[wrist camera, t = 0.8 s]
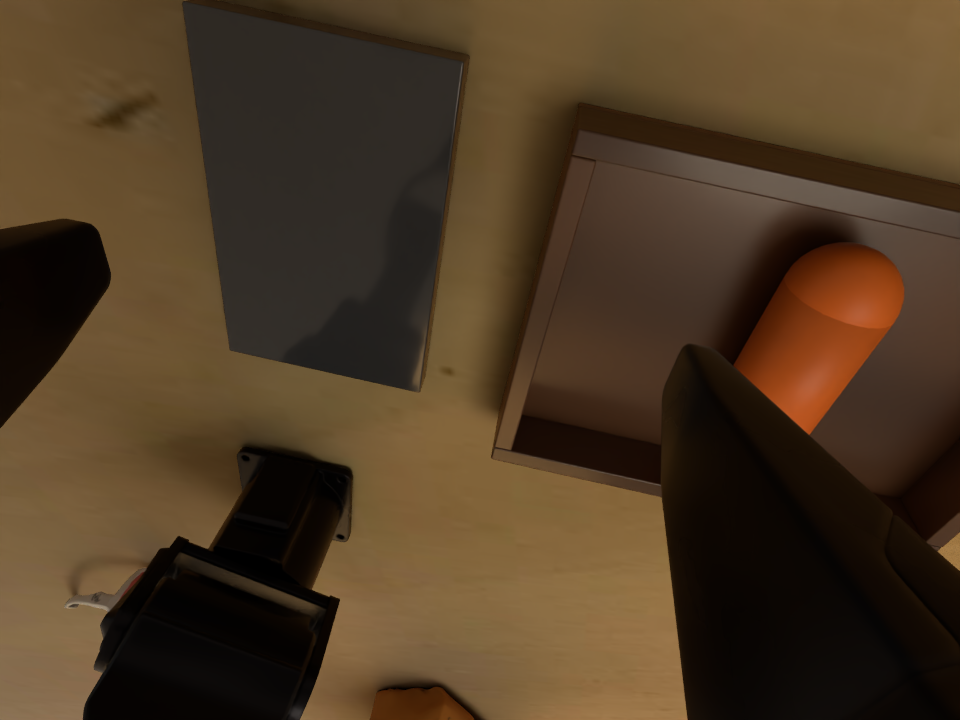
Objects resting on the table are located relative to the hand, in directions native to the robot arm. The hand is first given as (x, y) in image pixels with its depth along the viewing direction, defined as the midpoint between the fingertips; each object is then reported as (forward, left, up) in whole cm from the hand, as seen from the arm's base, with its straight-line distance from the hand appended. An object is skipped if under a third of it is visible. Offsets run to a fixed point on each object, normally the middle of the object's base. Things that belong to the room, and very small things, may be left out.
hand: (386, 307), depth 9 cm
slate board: (-6, +5, -14) cm, 16 cm away
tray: (-7, -13, -14) cm, 20 cm away
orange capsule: (-7, -13, -13) cm, 20 cm away
